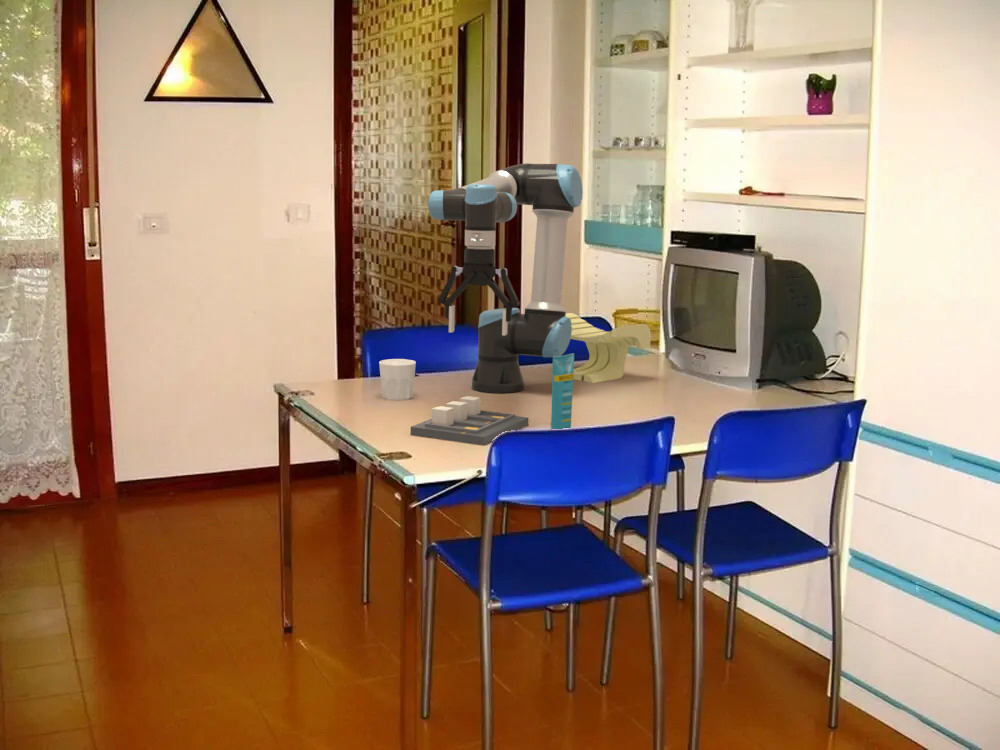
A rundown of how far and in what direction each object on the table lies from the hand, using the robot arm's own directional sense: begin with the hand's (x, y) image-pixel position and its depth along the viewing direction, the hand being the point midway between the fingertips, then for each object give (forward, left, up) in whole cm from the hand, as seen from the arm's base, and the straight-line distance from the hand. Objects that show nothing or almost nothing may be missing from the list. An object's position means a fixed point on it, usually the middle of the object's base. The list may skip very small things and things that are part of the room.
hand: (477, 333), depth 292 cm
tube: (+22, +3, -23) cm, 32 cm away
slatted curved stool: (+1, +75, -23) cm, 78 cm away
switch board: (+2, -7, -23) cm, 24 cm away
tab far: (-2, 0, -21) cm, 21 cm away
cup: (-34, +17, -23) cm, 44 cm away
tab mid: (-2, -7, -21) cm, 22 cm away
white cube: (-2, -14, -21) cm, 25 cm away
